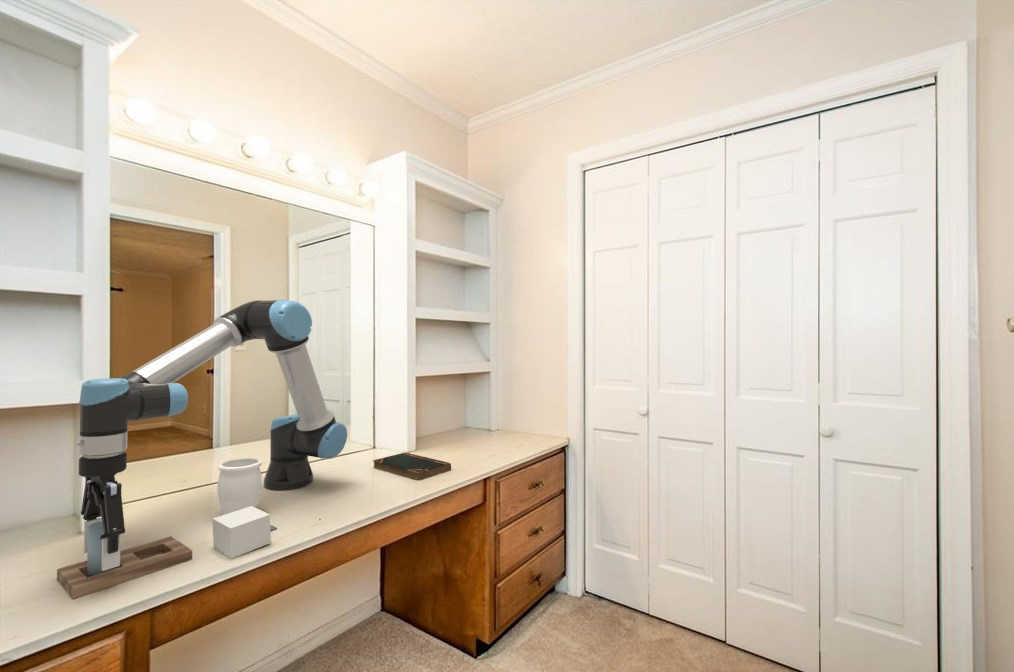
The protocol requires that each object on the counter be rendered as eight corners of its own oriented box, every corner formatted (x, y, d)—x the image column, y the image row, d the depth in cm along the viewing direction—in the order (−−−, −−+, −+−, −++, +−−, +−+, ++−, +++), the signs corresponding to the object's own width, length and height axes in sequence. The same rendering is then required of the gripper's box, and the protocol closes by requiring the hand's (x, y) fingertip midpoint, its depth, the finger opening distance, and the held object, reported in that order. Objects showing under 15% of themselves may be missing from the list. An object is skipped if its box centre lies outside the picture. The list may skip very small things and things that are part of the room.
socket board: (57, 578, 95) (57, 569, 95) (170, 544, 112) (171, 536, 112) (73, 599, 88) (73, 588, 88) (192, 559, 105) (192, 550, 105)
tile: (241, 530, 120) (241, 526, 120) (265, 523, 125) (265, 519, 125) (253, 537, 117) (253, 532, 117) (276, 529, 122) (276, 525, 122)
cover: (213, 547, 111) (212, 518, 110) (252, 533, 118) (251, 505, 118) (231, 558, 106) (230, 528, 105) (270, 542, 113) (270, 514, 113)
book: (371, 469, 179) (417, 482, 164) (372, 460, 179) (417, 472, 164) (406, 460, 193) (451, 471, 178) (406, 451, 193) (451, 462, 178)
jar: (251, 506, 137) (252, 455, 137) (267, 516, 130) (268, 462, 130) (210, 517, 129) (212, 463, 129) (225, 527, 122) (226, 470, 122)
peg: (84, 578, 96) (85, 525, 96) (108, 570, 99) (110, 519, 99) (90, 584, 94) (91, 530, 94) (115, 576, 97) (116, 523, 97)
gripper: (63, 447, 100) (61, 548, 100) (97, 468, 86) (95, 585, 86) (108, 441, 106) (106, 537, 106) (146, 459, 93) (144, 569, 93)
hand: (101, 558), depth 96 cm, fingers open, 11 cm apart
